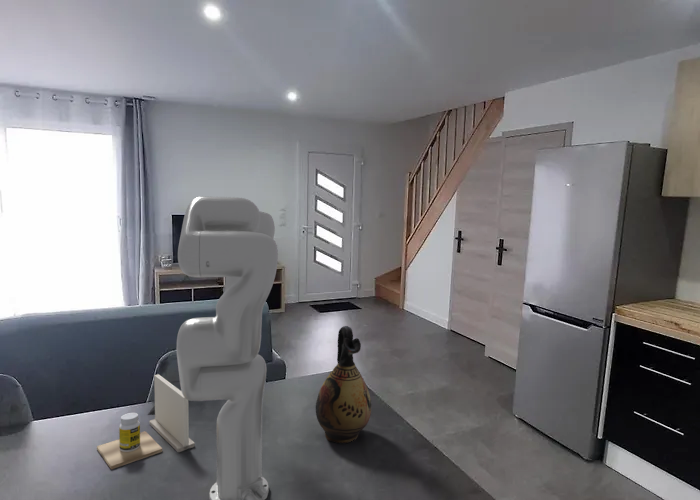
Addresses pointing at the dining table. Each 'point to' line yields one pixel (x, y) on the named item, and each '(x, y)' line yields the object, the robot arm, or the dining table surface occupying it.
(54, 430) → the dining table surface
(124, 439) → the supplement bottle
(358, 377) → the ceramic jug
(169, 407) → the screen
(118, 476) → the dining table surface
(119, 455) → the coaster
